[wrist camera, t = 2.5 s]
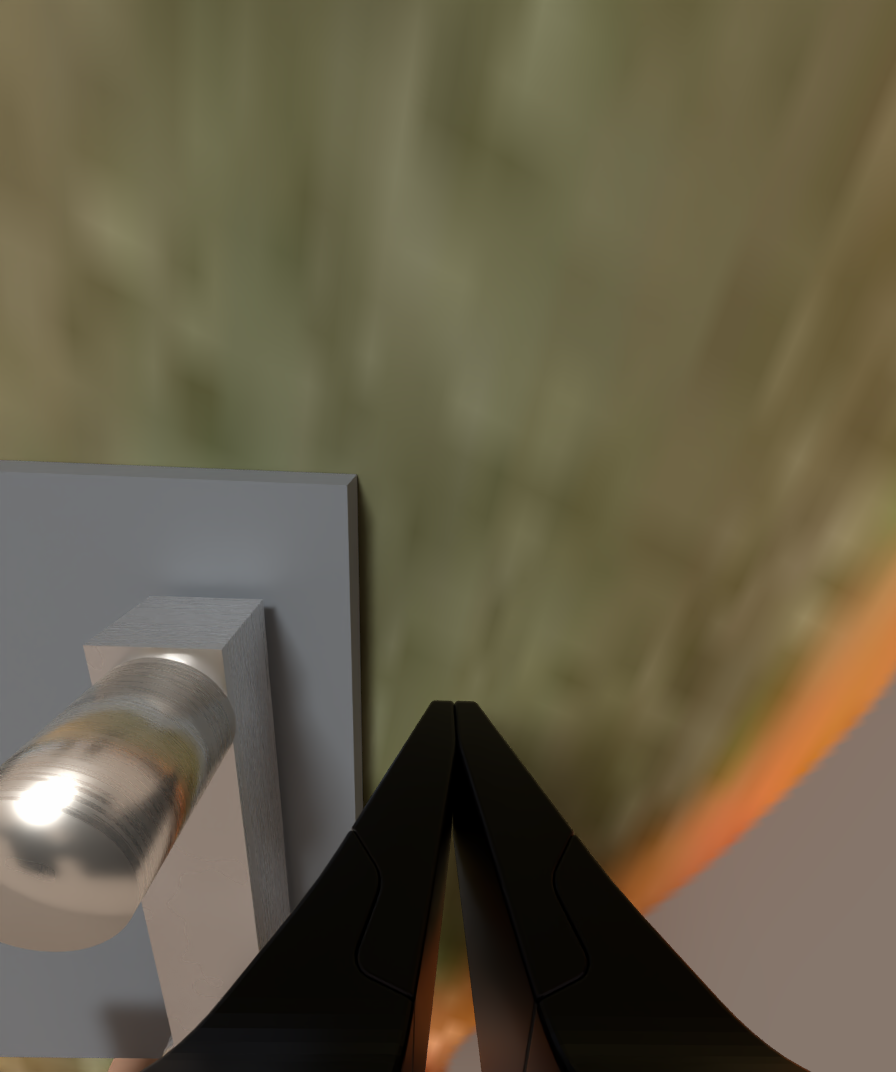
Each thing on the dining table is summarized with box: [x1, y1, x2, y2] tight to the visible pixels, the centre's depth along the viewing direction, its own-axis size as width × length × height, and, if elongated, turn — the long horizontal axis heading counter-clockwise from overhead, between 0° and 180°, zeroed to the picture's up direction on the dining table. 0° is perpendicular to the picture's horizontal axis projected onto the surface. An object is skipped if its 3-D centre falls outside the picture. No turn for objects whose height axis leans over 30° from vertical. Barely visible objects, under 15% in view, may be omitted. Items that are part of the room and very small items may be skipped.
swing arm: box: [0, 596, 291, 1056], centre depth 10 cm, size 17×5×5 cm, turn 178°
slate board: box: [0, 460, 363, 1059], centre depth 13 cm, size 18×20×1 cm
